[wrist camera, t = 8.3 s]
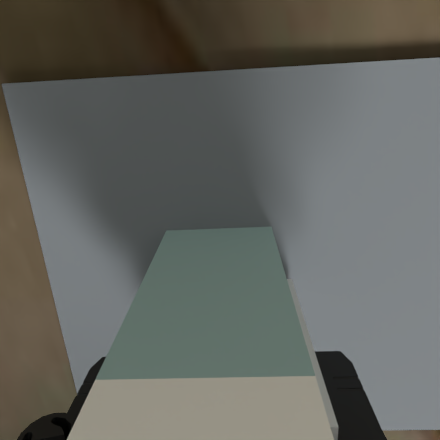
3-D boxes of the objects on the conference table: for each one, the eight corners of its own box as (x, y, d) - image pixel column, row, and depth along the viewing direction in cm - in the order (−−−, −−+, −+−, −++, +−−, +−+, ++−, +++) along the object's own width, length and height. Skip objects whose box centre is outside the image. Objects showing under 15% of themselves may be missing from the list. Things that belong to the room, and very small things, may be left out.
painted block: (182, 375, 16) (126, 696, 7) (166, 230, 14) (57, 459, 5) (272, 373, 16) (318, 701, 7) (271, 226, 13) (339, 456, 5)
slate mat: (90, 426, 18) (86, 433, 17) (8, 84, 12) (1, 83, 12) (504, 421, 17) (510, 428, 16) (612, 47, 11) (625, 46, 11)
